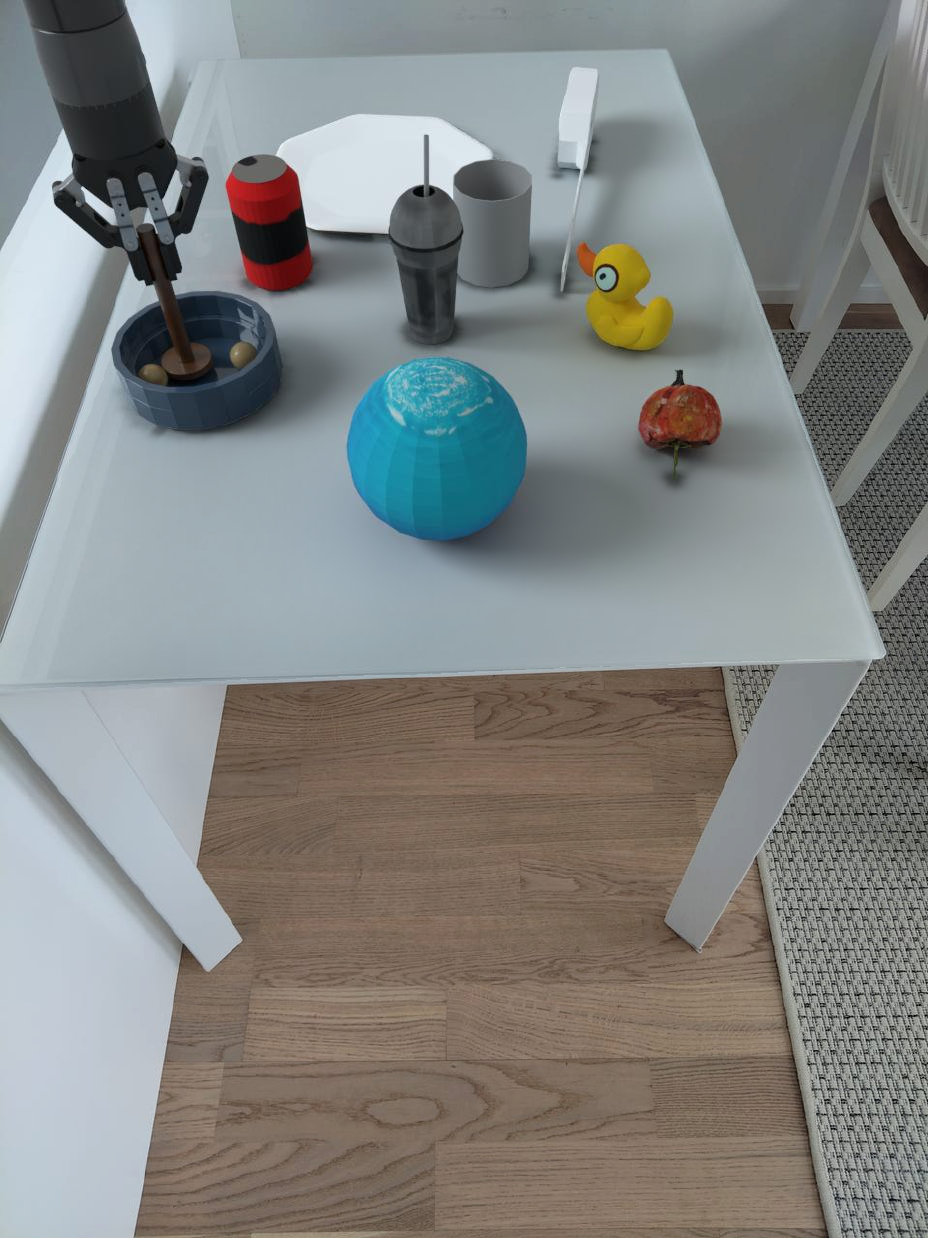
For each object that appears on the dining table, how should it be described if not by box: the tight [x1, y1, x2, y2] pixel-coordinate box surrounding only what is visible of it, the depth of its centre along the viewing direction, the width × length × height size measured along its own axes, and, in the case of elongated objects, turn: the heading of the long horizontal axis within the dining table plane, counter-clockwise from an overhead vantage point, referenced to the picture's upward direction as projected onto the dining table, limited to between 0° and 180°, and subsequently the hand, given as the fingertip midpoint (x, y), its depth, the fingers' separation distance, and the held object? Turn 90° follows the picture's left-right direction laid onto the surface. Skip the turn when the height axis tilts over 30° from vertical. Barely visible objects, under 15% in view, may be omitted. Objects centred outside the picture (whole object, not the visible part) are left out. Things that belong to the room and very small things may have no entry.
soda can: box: [224, 154, 314, 292], centre depth 99 cm, size 8×8×12 cm
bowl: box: [110, 290, 284, 431], centre depth 91 cm, size 16×16×5 cm
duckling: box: [576, 241, 674, 351], centre depth 92 cm, size 11×5×10 cm, turn 51°
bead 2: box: [230, 342, 258, 370], centre depth 93 cm, size 3×3×3 cm
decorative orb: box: [346, 356, 528, 541], centre depth 76 cm, size 15×15×15 cm
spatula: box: [557, 66, 600, 293], centre depth 110 cm, size 38×8×4 cm
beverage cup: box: [388, 135, 464, 345], centre depth 90 cm, size 7×7×20 cm
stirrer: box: [135, 222, 213, 380], centre depth 87 cm, size 5×5×15 cm
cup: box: [453, 158, 533, 289], centre depth 100 cm, size 8×8×10 cm
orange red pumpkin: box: [637, 368, 723, 481], centre depth 84 cm, size 7×7×10 cm
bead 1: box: [138, 364, 168, 386], centre depth 91 cm, size 3×3×3 cm
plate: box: [275, 113, 494, 237], centre depth 115 cm, size 28×28×2 cm
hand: (161, 277), depth 85 cm, fingers closed on stirrer
